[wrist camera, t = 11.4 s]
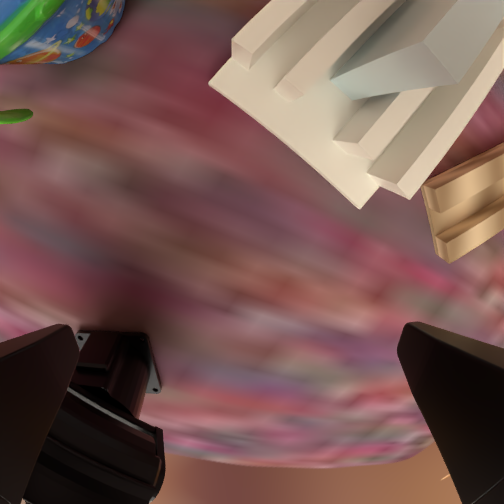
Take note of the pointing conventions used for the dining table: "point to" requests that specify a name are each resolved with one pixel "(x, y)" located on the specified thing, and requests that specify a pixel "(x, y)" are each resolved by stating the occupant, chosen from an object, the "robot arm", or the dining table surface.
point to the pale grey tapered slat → (420, 47)
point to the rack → (339, 104)
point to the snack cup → (52, 34)
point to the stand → (466, 204)
